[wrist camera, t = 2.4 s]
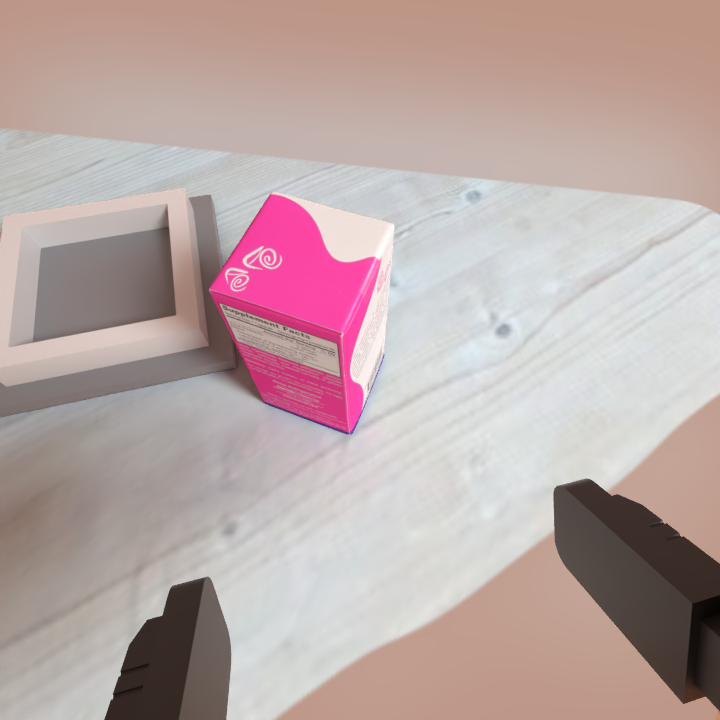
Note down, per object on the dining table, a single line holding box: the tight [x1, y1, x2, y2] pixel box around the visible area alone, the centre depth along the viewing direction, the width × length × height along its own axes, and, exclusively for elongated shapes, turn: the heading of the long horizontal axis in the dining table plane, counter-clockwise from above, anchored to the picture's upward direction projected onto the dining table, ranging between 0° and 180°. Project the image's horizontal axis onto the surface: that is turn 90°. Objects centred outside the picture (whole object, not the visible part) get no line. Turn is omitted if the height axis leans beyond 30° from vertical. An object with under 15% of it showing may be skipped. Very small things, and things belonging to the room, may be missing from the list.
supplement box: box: [209, 191, 395, 435], centre depth 23 cm, size 6×6×12 cm
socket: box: [0, 188, 237, 417], centre depth 29 cm, size 14×14×3 cm
